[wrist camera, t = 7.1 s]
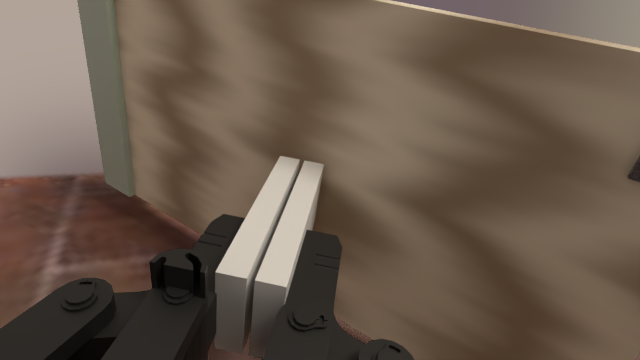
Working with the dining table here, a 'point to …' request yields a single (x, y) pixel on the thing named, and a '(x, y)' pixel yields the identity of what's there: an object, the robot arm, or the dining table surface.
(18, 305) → the dining table surface
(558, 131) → the gate panel
